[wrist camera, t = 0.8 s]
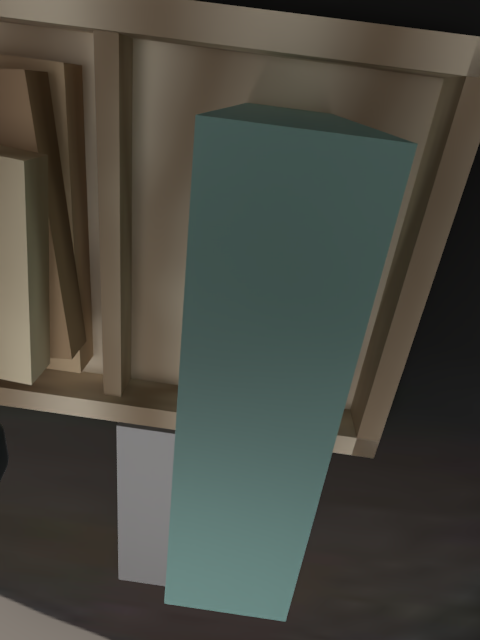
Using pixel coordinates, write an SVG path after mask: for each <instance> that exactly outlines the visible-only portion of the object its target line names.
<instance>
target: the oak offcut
mask: <svg viewBox="0 0 480 640" xmlns="http://www.w3.org/2000/svg"><path fill="white" fill-rule="evenodd" d="M0 69H22V70H34V71H43V72H48V77H49V84H50V91H51V98H52V105H53V112H54V119H55V126H56V133H57V139H58V146H59V153H60V160H61V167H62V174H63V181H64V188H65V195H66V202H67V209H68V215H69V222H70V229H71V236H72V243H73V250H74V257H75V264H76V271H77V278H78V285H79V292H80V298H81V305H82V312H83V319H84V326H85V333H86V340H87V341H86V342H85V344H84V345H83V346H82V347H81V349H80V350H79V351H78V353H77V354H76V355H75V356H74V358H73V359H57V358H50V364H49V365H48V367H47V369H54V370H61V371H68V372H75V373H81V372H82V371H83V370H84V368H85V367H86V365H87V364H88V363H89V361H90V360H91V358H92V357H93V333H92V308H91V282H90V257H89V232H88V206H87V181H86V156H85V131H84V105H83V80H82V65H77V64H70V63H63V62H56V61H48V60H40V59H33V58H25V57H17V56H9V55H2V54H0Z"/></svg>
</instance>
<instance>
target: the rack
mask: <svg viewBox="0 0 480 640" xmlns="http://www.w3.org/2000/svg"><path fill="white" fill-rule="evenodd" d="M0 54H2V55H9V56H17V57H25V58H33V59H40V60H48V61H56V62H63V63H70V64H77V65H82V80H83V105H84V131H85V156H86V181H87V206H88V232H89V257H90V282H91V308H92V333H93V357H92V358H91V360H90V361H89V363H88V364H87V365H86V367H85V368H84V370H83V371H82V372H81V373H75V372H68V371H61V370H54V369H47V368H46V369H45V370H44V371H43V372H42V374H41V375H40V376H39V377H38V378H37V379H36V381H35V382H34V383H33V384H32V385H28V384H23V383H18V382H13V381H8V380H3V379H0V405H4V406H11V407H18V408H25V409H32V410H39V411H46V412H53V413H60V414H67V415H74V416H81V417H88V418H95V419H102V420H109V421H116V422H123V423H130V424H137V425H144V426H151V427H158V428H165V429H172V430H175V428H176V413H177V397H178V381H179V366H180V350H181V334H182V318H183V303H184V287H185V271H186V256H187V240H188V224H189V209H190V193H191V177H192V161H193V146H194V130H195V115H197V114H201V113H205V112H210V111H214V110H218V109H222V108H227V107H231V106H235V105H239V104H244V103H253V104H261V105H268V106H276V107H284V108H291V109H299V110H307V111H315V112H322V113H330V114H334V115H337V116H339V117H342V118H345V119H348V120H351V121H354V122H357V123H359V124H362V125H365V126H368V127H371V128H374V129H377V130H380V131H382V132H385V133H388V134H391V135H394V136H397V137H400V138H402V139H405V140H408V141H411V142H414V143H417V144H418V145H417V148H416V152H415V156H414V159H413V163H412V166H411V170H410V174H409V177H408V181H407V185H406V188H405V192H404V195H403V199H402V203H401V206H400V210H399V213H398V217H397V221H396V224H395V228H394V231H393V235H392V239H391V242H390V246H389V250H388V253H387V257H386V260H385V264H384V268H383V271H382V275H381V278H380V282H379V286H378V289H377V293H376V296H375V300H374V304H373V307H372V311H371V315H370V318H369V322H368V325H367V329H366V333H365V336H364V340H363V343H362V347H361V351H360V354H359V358H358V362H357V365H356V369H355V372H354V376H353V380H352V383H351V387H350V390H349V394H348V398H347V401H346V405H345V408H344V412H343V416H342V419H341V423H340V427H339V430H338V434H337V437H336V441H335V445H334V448H333V453H340V454H347V455H354V456H361V457H368V458H374V456H375V453H376V450H377V447H378V444H379V441H380V438H381V435H382V432H383V429H384V426H385V423H386V420H387V417H388V414H389V411H390V408H391V405H392V402H393V399H394V396H395V393H396V390H397V387H398V384H399V381H400V378H401V375H402V372H403V369H404V366H405V363H406V360H407V357H408V354H409V351H410V348H411V345H412V342H413V340H414V337H415V334H416V331H417V328H418V325H419V322H420V319H421V316H422V313H423V310H424V307H425V304H426V301H427V298H428V295H429V292H430V289H431V286H432V283H433V280H434V277H435V274H436V271H437V268H438V265H439V262H440V259H441V256H442V253H443V250H444V247H445V244H446V241H447V238H448V235H449V232H450V229H451V226H452V223H453V220H454V217H455V214H456V211H457V208H458V205H459V202H460V199H461V196H462V193H463V190H464V187H465V184H466V181H467V178H468V175H469V172H470V169H471V166H472V163H473V160H474V158H475V155H476V152H477V149H478V146H479V143H480V37H479V36H471V35H463V34H455V33H447V32H439V31H431V30H423V29H415V28H407V27H399V26H392V25H384V24H376V23H368V22H360V21H352V20H344V19H336V18H328V17H320V16H312V15H304V14H296V13H289V12H281V11H273V10H265V9H257V8H249V7H241V6H233V5H225V4H217V3H209V2H201V1H194V0H0Z"/></svg>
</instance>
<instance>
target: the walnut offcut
mask: <svg viewBox="0 0 480 640" xmlns="http://www.w3.org/2000/svg"><path fill="white" fill-rule="evenodd" d="M0 145H3V146H8V147H13V148H17V149H22V150H27V151H32V152H37V153H42V154H46V155H48V209H49V306H50V358H57V359H73V358H74V356H75V355H76V354H77V353H78V351H79V350H80V349H81V347H82V346H83V345H84V344H85V342H86V341H87V340H86V333H85V326H84V319H83V312H82V305H81V298H80V292H79V285H78V278H77V271H76V264H75V257H74V250H73V243H72V236H71V229H70V222H69V215H68V209H67V202H66V195H65V188H64V181H63V174H62V167H61V160H60V153H59V146H58V139H57V133H56V126H55V119H54V112H53V105H52V98H51V91H50V84H49V77H48V72H43V71H34V70H22V69H0Z"/></svg>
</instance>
